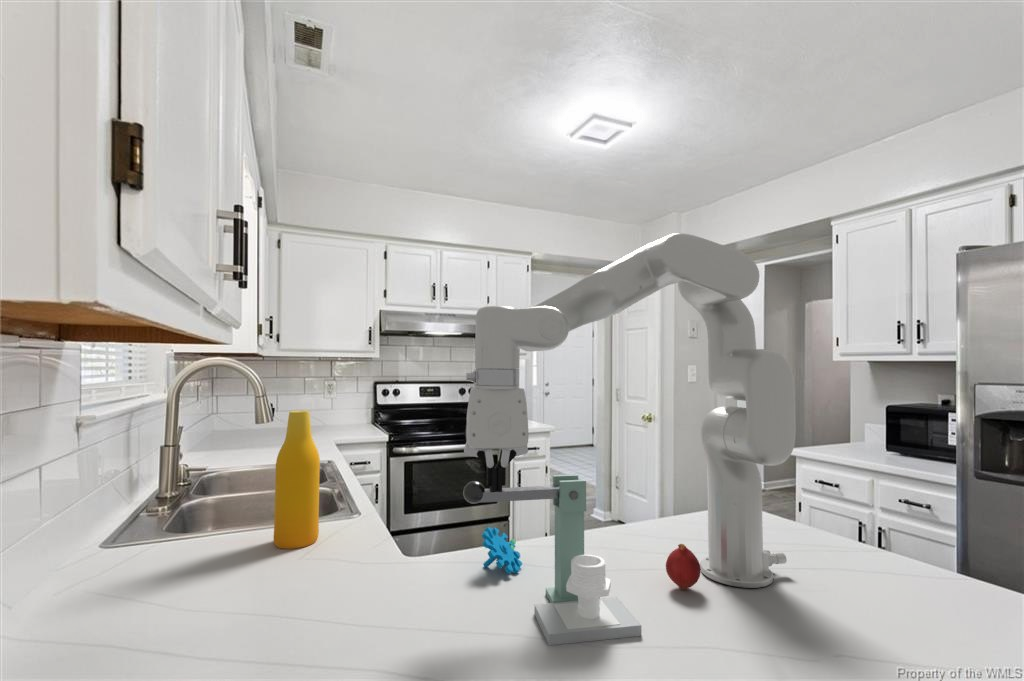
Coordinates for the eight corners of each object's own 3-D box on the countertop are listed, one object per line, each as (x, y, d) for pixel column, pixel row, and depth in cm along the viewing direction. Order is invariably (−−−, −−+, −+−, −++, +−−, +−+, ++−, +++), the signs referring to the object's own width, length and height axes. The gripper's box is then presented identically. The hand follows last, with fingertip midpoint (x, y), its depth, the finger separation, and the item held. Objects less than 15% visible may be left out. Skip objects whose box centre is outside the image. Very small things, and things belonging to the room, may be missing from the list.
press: (602, 588, 89) (601, 473, 90) (641, 635, 73) (640, 495, 74) (525, 594, 86) (525, 475, 87) (548, 645, 71) (548, 500, 72)
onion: (676, 579, 93) (675, 535, 93) (706, 589, 89) (705, 543, 89) (660, 589, 89) (659, 543, 89) (691, 600, 85) (690, 551, 85)
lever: (577, 495, 88) (576, 474, 88) (583, 500, 84) (583, 479, 84) (462, 500, 84) (462, 479, 84) (464, 506, 81) (464, 484, 81)
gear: (509, 574, 91) (478, 528, 95) (487, 595, 92) (457, 548, 96) (533, 562, 100) (504, 520, 105) (513, 580, 102) (485, 538, 106)
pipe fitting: (612, 605, 79) (611, 553, 79) (608, 628, 72) (606, 572, 73) (572, 600, 81) (571, 550, 81) (564, 623, 74) (563, 567, 74)
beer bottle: (326, 541, 112) (329, 411, 114) (285, 553, 105) (288, 414, 107) (306, 532, 118) (308, 408, 120) (266, 542, 111) (269, 411, 113)
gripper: (454, 380, 79) (452, 497, 78) (545, 380, 82) (544, 494, 81) (451, 379, 87) (449, 486, 86) (535, 379, 89) (534, 483, 88)
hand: (495, 490), depth 83 cm, fingers closed
